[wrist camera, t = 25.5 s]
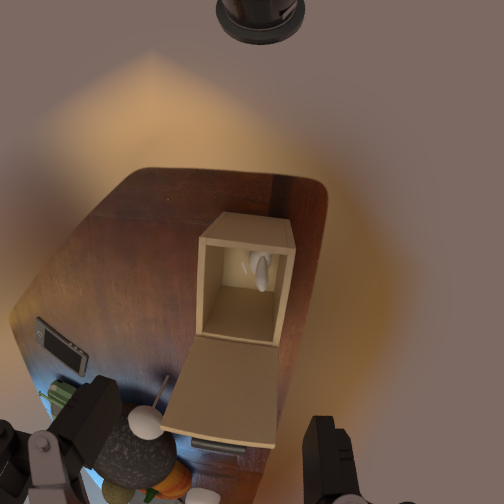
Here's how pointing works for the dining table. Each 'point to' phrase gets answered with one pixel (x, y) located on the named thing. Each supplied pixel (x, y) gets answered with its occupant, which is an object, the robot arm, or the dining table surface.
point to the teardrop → (202, 496)
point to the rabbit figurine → (259, 268)
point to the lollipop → (147, 419)
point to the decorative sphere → (135, 456)
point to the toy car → (58, 396)
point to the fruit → (116, 493)
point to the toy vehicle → (139, 498)
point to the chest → (243, 279)
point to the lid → (225, 396)
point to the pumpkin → (171, 485)
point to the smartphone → (60, 347)
